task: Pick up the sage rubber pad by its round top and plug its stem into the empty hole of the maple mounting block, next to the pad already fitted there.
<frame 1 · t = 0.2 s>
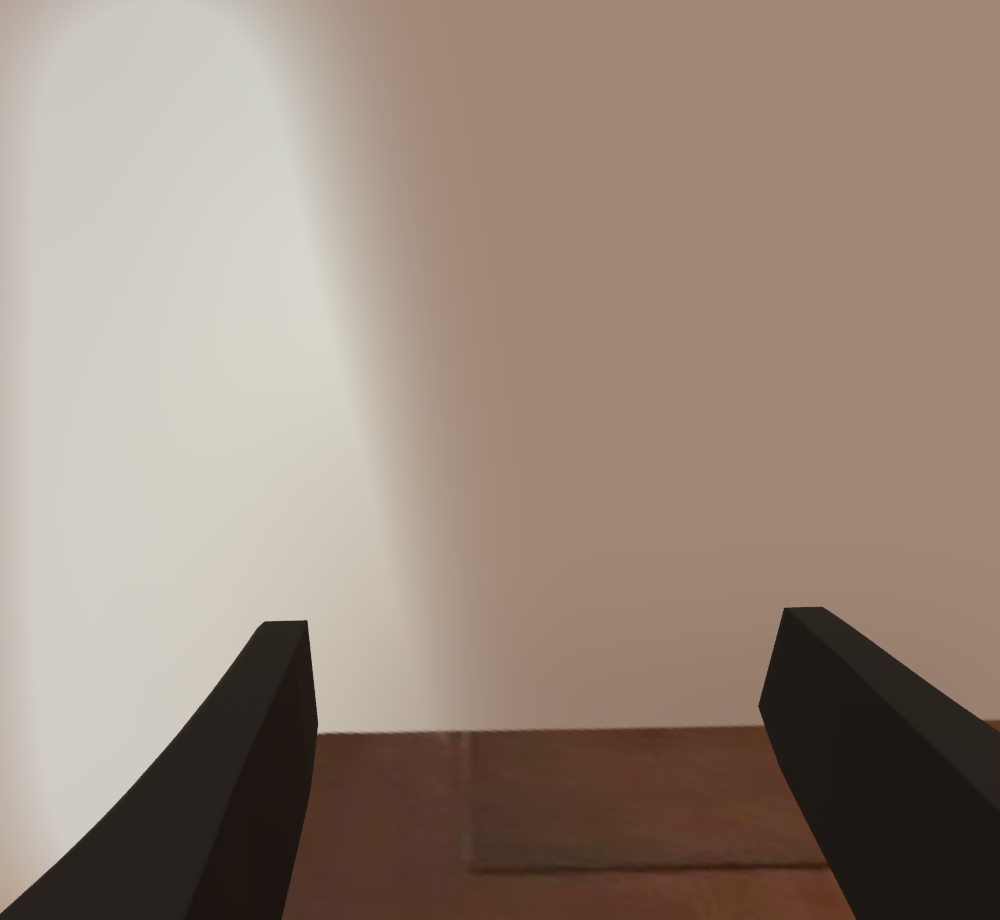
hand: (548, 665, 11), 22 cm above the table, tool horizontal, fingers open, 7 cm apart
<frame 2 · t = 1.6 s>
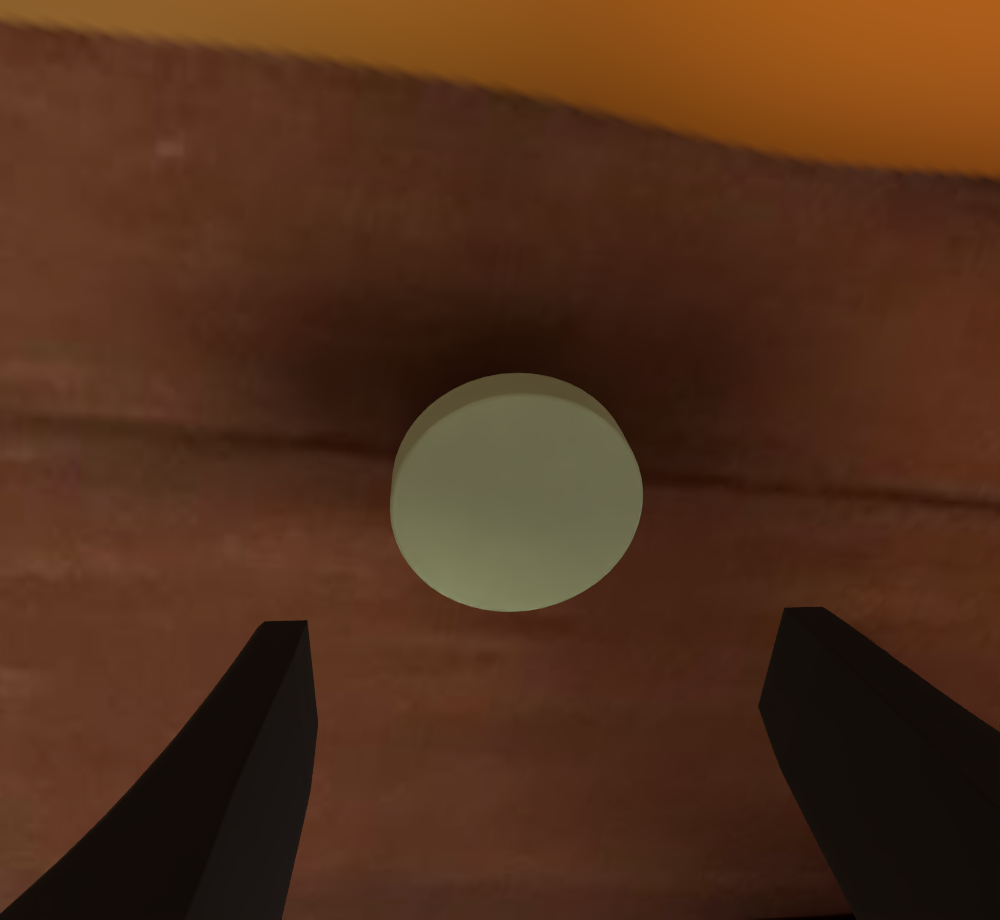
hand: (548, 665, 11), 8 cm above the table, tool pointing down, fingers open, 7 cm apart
pad: (501, 429, 19), on the table
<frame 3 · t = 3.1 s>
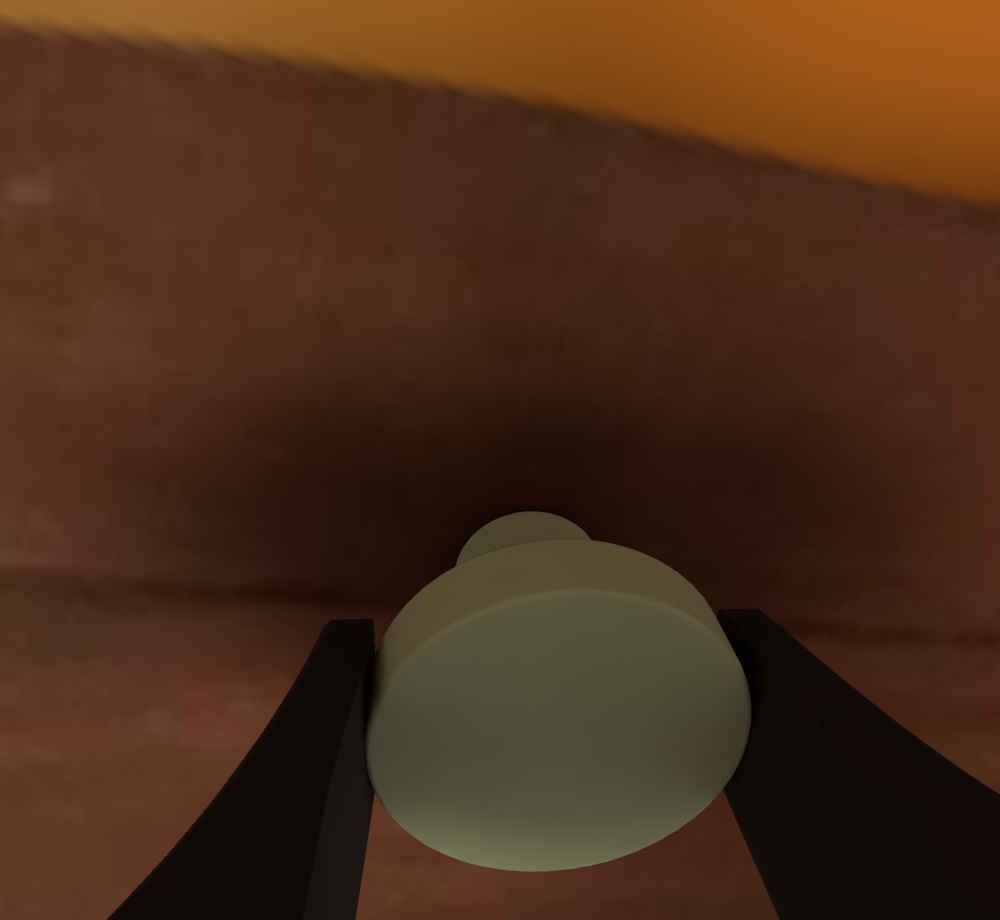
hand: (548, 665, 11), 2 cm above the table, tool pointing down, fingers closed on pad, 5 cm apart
pad: (526, 571, 13), on the table, touching gripper
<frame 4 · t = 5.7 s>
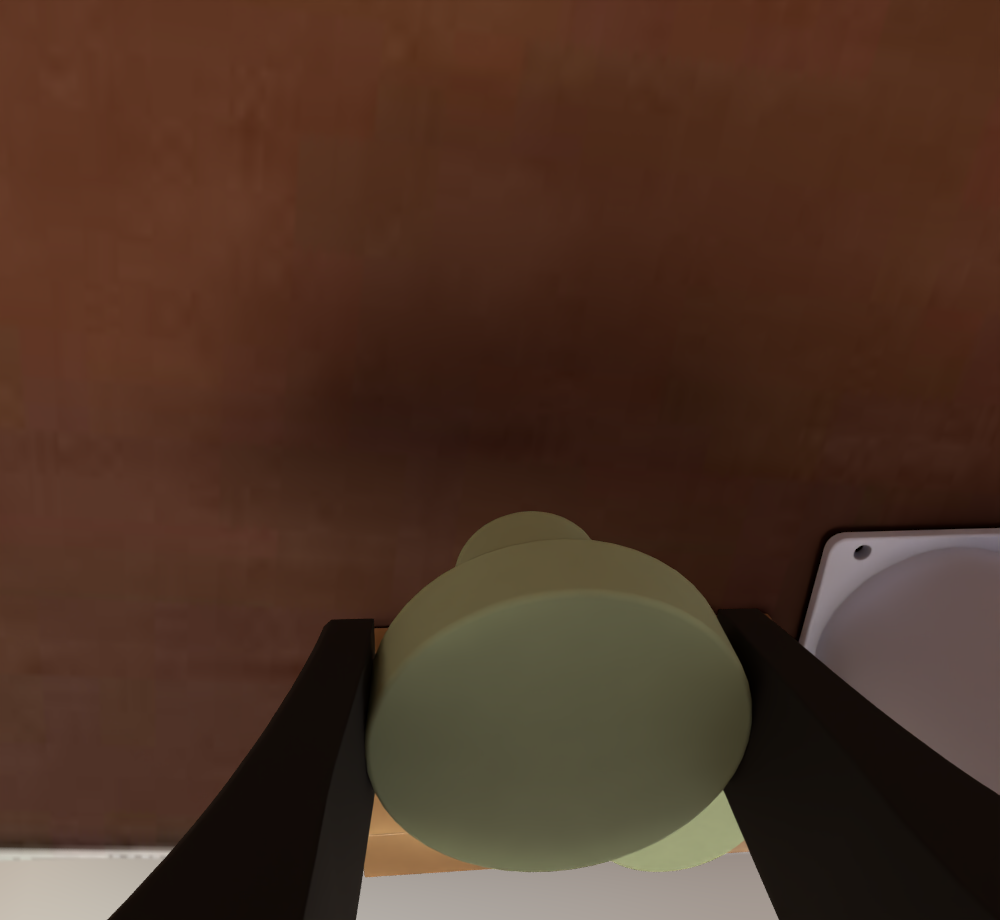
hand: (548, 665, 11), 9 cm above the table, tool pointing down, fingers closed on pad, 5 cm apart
fitted pad: (642, 708, 25), resting in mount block
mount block: (560, 707, 25), on the table
pad: (526, 571, 13), point 7 cm above the table, touching gripper
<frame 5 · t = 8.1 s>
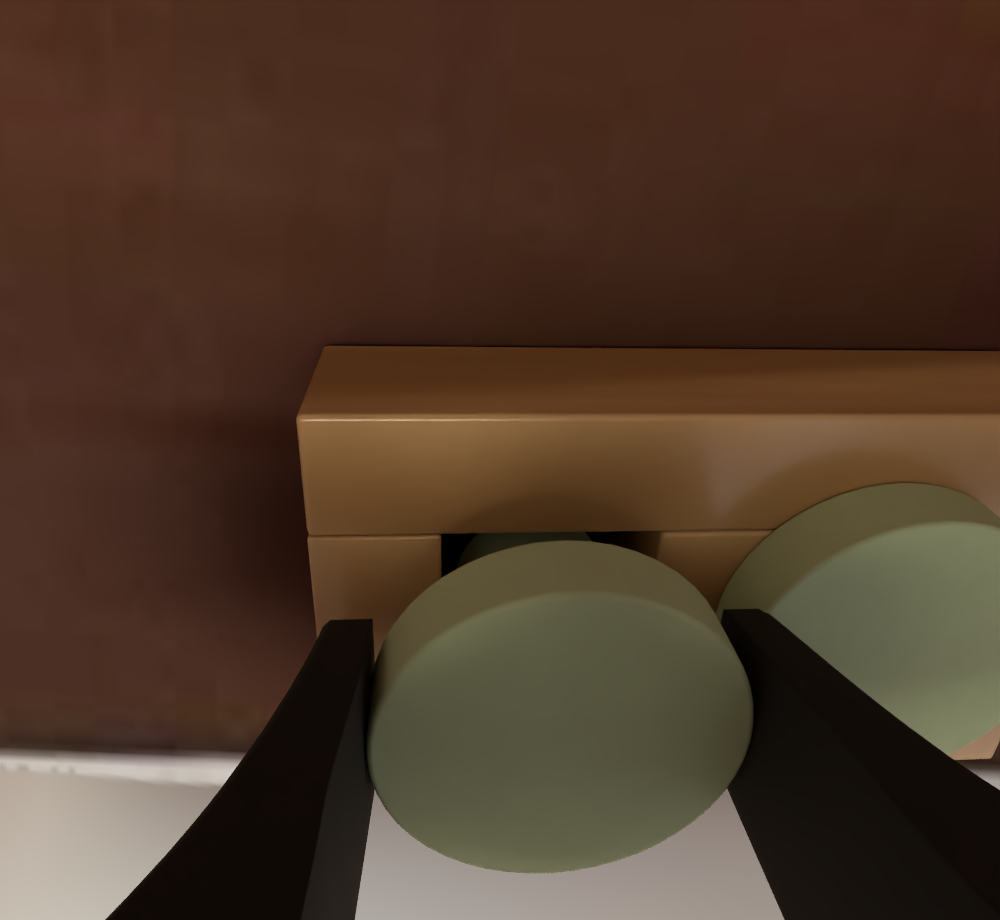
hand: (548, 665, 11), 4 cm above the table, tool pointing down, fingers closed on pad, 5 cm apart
fitted pad: (791, 525, 15), resting in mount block
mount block: (658, 522, 15), on the table
pad: (528, 572, 13), point 2 cm above the table, touching gripper
when the fingers open (4 cm above the table, at t = 8.1 s): pad drops 1 cm, resting on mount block.
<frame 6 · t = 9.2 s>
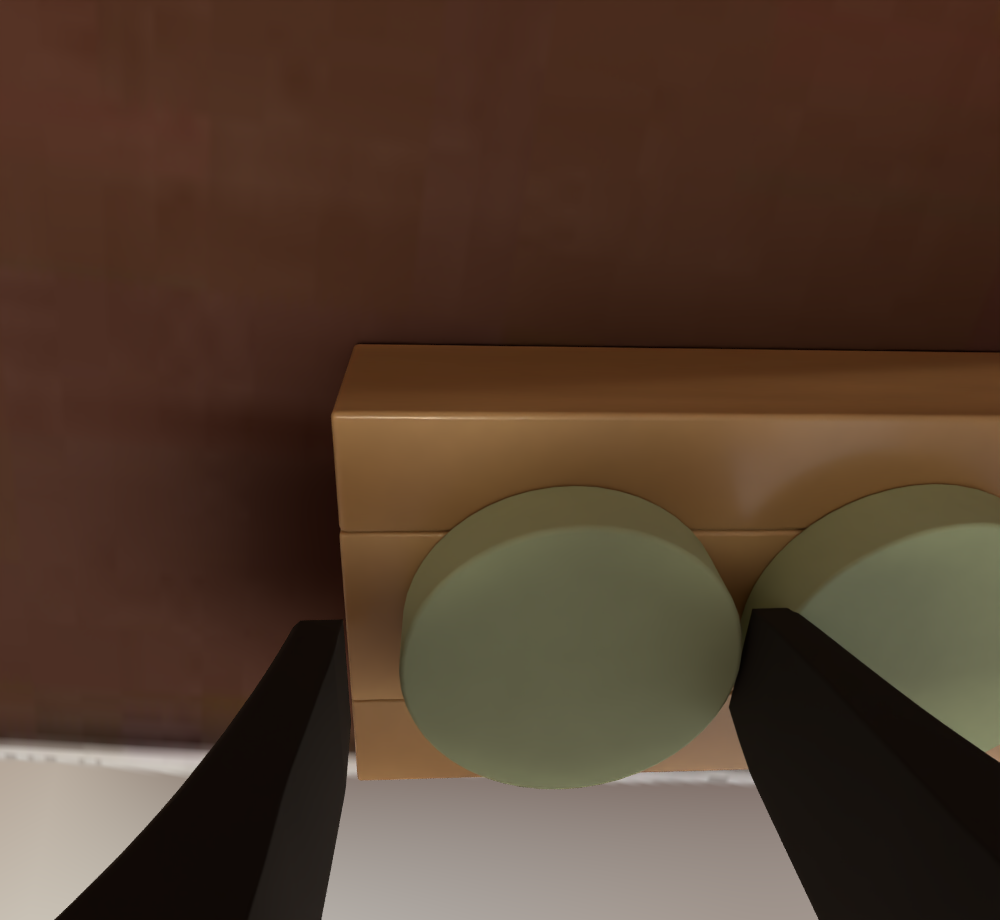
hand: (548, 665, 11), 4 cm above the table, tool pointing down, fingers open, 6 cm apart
fitted pad: (816, 526, 15), resting in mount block
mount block: (683, 521, 15), on the table
pad: (542, 528, 15), resting on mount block
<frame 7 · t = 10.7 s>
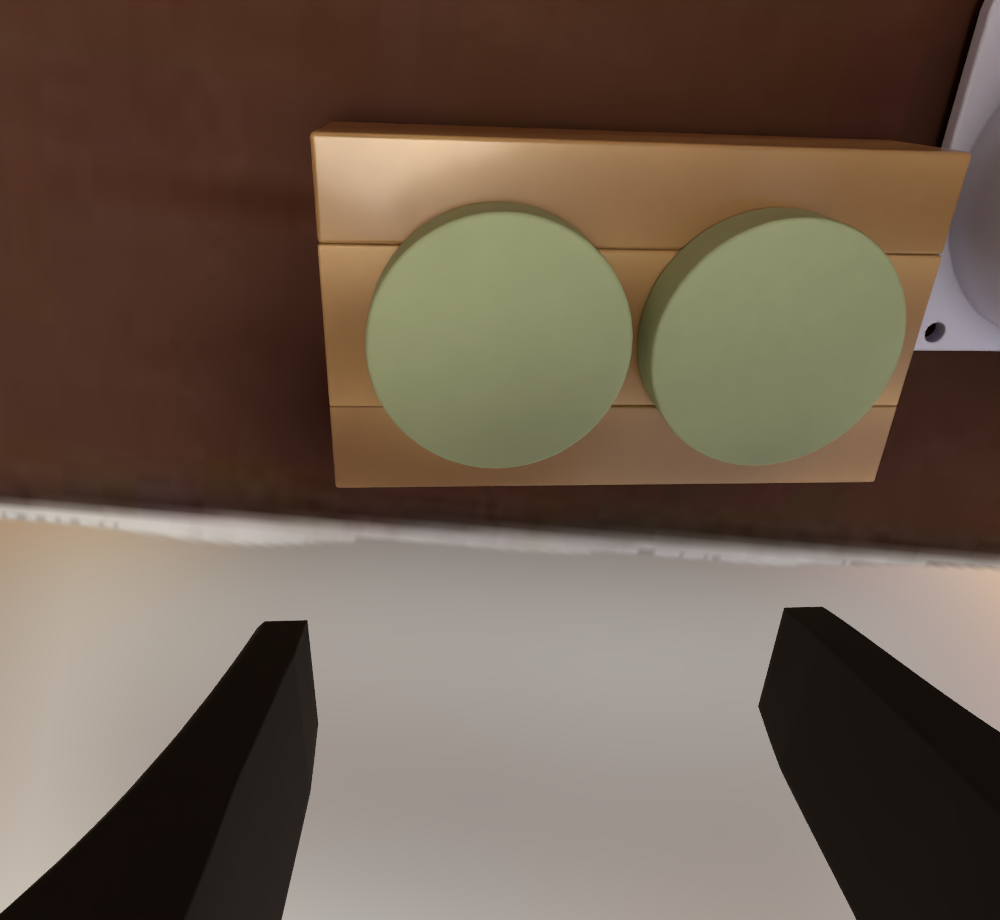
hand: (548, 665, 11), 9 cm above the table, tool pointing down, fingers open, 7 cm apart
fitted pad: (712, 298, 18), resting in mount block
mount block: (603, 294, 18), on the table
pad: (486, 296, 18), resting on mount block
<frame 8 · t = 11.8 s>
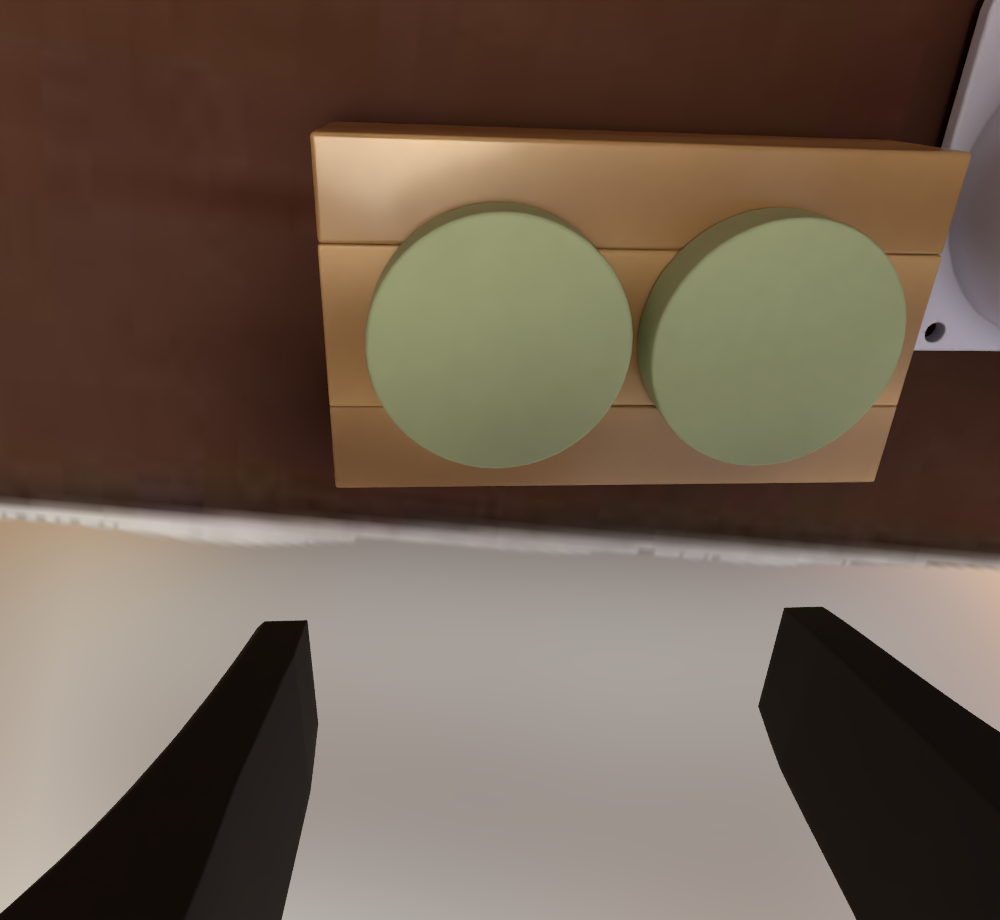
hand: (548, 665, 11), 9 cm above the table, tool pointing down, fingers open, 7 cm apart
fitted pad: (712, 298, 18), resting in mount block
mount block: (603, 294, 18), on the table
pad: (486, 296, 18), resting on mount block
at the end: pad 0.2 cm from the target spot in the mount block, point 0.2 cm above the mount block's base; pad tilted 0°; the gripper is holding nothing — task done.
